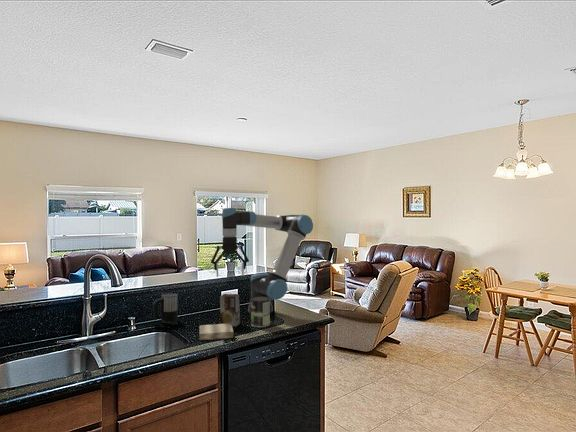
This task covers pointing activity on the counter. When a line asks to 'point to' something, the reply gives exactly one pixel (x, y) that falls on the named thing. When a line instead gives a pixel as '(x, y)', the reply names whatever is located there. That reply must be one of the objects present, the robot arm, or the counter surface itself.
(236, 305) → the coffee box
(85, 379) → the counter surface
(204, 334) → the birch base
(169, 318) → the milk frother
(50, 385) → the counter surface
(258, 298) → the coffee can
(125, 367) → the counter surface
